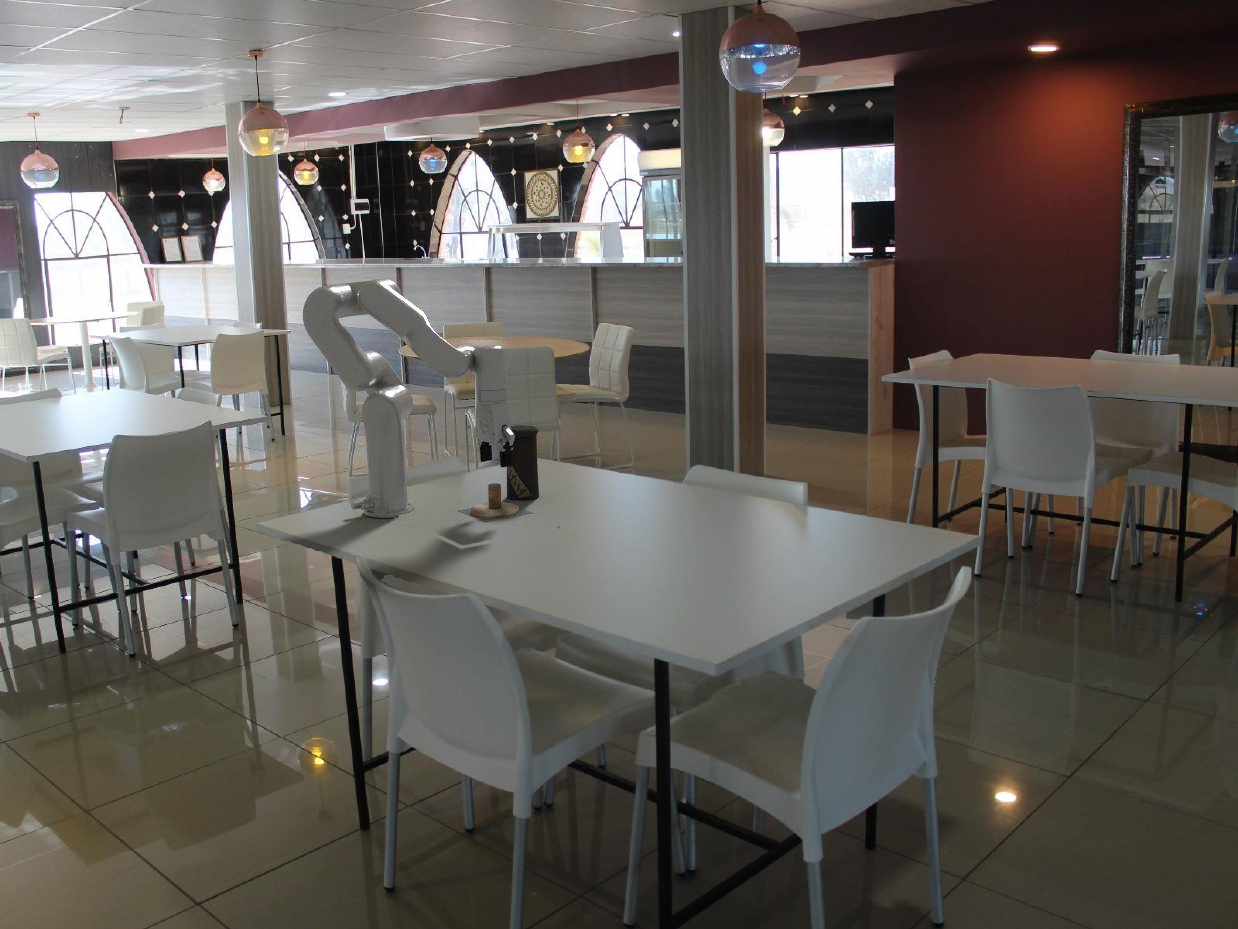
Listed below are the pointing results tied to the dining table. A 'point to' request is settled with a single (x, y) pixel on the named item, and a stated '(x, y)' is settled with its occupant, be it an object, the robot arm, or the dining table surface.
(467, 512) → the mat
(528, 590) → the dining table surface
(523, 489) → the container
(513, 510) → the lid
